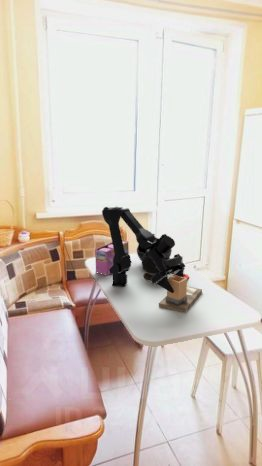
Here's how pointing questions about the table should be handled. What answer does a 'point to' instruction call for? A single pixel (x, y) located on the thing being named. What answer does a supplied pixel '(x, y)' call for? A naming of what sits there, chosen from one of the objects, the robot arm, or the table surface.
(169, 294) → the tan cardboard box
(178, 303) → the vise
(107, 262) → the gum box
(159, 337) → the table surface
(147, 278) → the black ball on stand
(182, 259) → the tow hook
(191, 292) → the board
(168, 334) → the table surface
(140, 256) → the bowl of black rocks
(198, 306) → the table surface
